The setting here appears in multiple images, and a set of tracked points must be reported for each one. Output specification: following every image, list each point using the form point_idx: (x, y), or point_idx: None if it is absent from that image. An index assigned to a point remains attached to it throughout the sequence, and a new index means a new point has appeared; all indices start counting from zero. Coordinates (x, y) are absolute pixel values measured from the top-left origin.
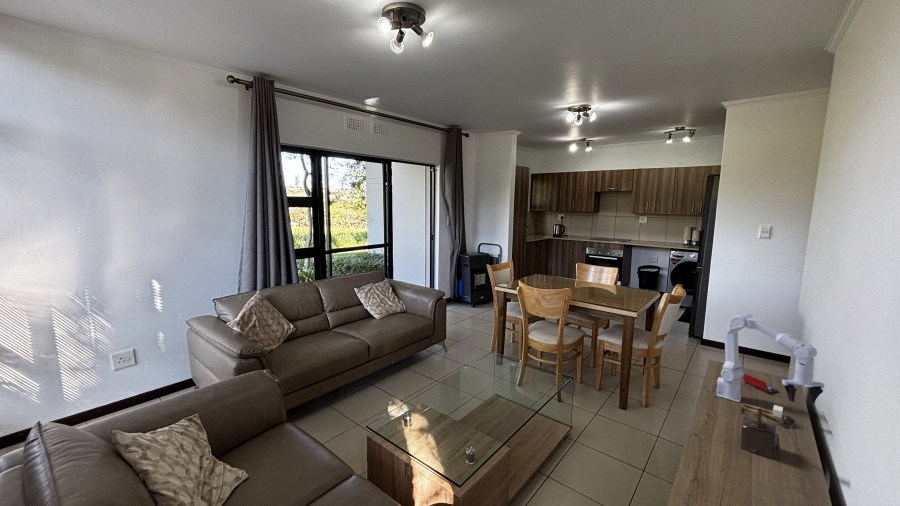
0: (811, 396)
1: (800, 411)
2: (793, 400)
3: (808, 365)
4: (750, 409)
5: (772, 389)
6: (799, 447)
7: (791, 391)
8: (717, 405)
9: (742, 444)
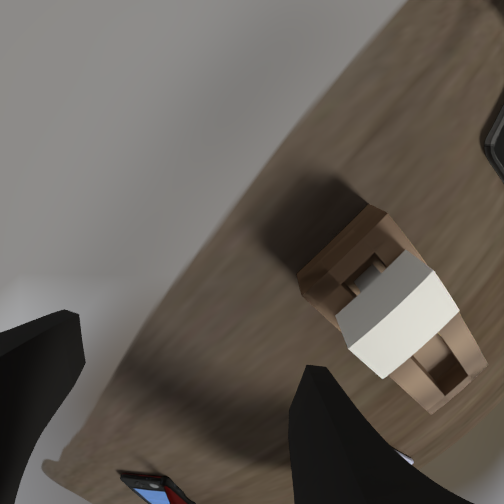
0: (36, 391)
1: (119, 372)
2: (320, 376)
3: None
4: (470, 352)
5: (136, 486)
6: (452, 20)
7: (445, 495)
8: (483, 395)
9: None
